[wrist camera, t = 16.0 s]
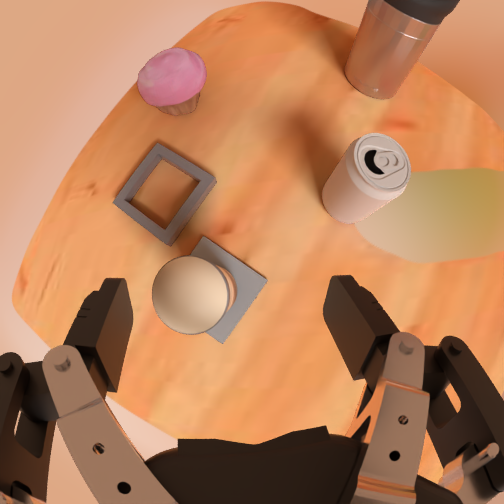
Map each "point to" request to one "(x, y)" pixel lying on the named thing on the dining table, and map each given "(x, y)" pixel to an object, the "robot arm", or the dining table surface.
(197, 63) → the cupcake
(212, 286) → the beige tall cylinder
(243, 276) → the mat
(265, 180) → the dining table surface
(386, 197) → the beverage can
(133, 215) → the socket collar
